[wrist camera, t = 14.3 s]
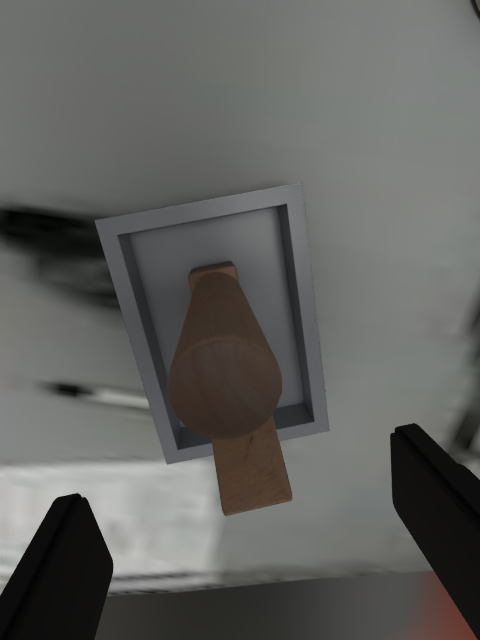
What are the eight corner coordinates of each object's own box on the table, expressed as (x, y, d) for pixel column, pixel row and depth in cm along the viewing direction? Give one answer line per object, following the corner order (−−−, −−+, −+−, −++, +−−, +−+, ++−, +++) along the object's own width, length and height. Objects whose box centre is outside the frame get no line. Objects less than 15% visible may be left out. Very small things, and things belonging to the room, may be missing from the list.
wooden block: (218, 383, 29) (226, 607, 12) (189, 268, 26) (144, 346, 9) (257, 375, 29) (321, 584, 12) (233, 259, 26) (273, 318, 9)
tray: (112, 221, 25) (94, 220, 22) (288, 189, 26) (301, 182, 22) (172, 435, 31) (167, 464, 27) (315, 406, 32) (329, 430, 28)
